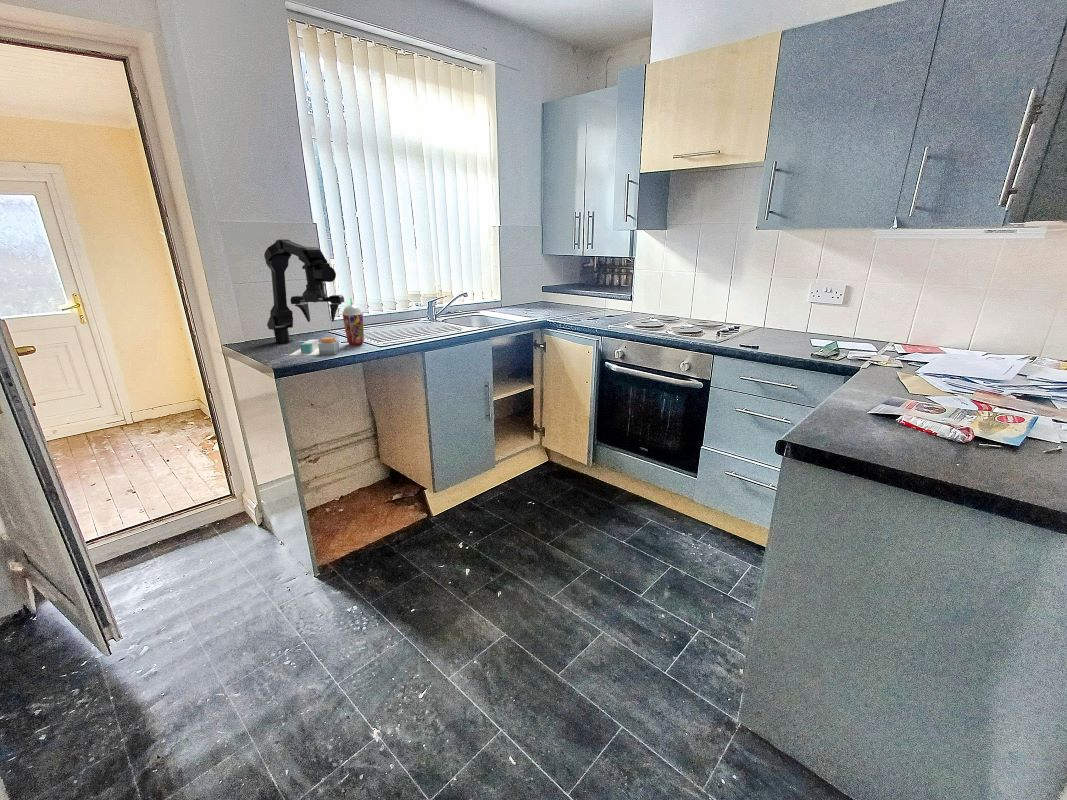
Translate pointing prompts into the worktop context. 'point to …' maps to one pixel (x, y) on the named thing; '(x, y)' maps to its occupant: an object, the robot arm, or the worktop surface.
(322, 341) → the button
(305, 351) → the milk carton
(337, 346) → the button housing
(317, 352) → the paper sheet
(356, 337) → the smoothie
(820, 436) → the worktop surface
